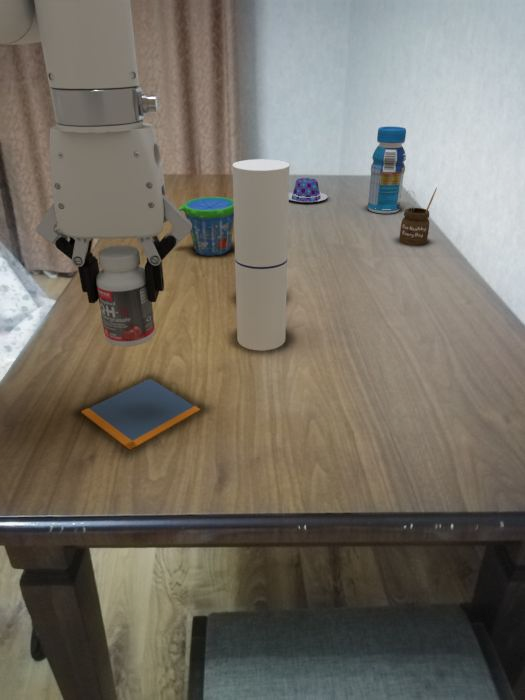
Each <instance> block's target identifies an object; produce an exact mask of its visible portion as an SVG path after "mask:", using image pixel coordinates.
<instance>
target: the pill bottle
mask: <svg viewBox="0 0 525 700" xmlns="http://www.w3.org/2000/svg"><path fill="white" fill-rule="evenodd" d="M98 265H99V266H100V268H101V270H99V273H98V274H97V277H96V286H97V292H98V302H99V309H100V315H101V322H102V327H103V333H104V338H105V340H106V341H107V342H108V343H109V344H111V345H112V346H116V347H123V348H125V347H127V348H128V347H136V346H140V345H143V344H145V343H148V342H149V341H151V340H152V339H153V338H154V336H155V333H156V328H155V318H154V317H155V316H154V310H153V302H150V301H148V294H147V285H146V277H145V267H142V266H140V265H141V257H140V251H139V249H138V248H137V247H135V246H132V245H127V244H120V245H118V244H117V245H111V246H108V247H104V248H102V249H100V250H99V252H98Z"/></svg>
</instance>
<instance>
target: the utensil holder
mask: <svg viewBox="0 0 525 700" xmlns="http://www.w3.org/2000/svg"><path fill="white" fill-rule="evenodd" d="M437 189H438V187H437V186H436V187H435V189H434V192H433V194H432V196H431V198H430V200H429V203H428V205H427V207H426V208H422V207H416V202H413V206H412V207H408V206H409V204H408V203H406V204H404V205H405V207H406V209H405V210H404V211H403V212H404V213H403V216H404V217H403V218H402V220H401V223H400V229H399V230H400V231H399V242H400V243H401V244H403V245H406V246H411V247H420V246H424V245H426V243H427V241H428V237H429V230H430V220H429V217H430V211H429V208H430V207H431V204H432V202H433V200H434V197H435V195H436V192H437ZM408 192H409V195H408V196H409V197H408V198H409V200H408V201H411V196H413V197H412V198H413V199H416V197H417V196H416V194H415V191H411V190H408V191H406V192H405V193H404V195H407V194H408ZM411 194H414V195H411Z"/></svg>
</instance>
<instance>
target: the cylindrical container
mask: <svg viewBox="0 0 525 700" xmlns="http://www.w3.org/2000/svg"><path fill="white" fill-rule="evenodd" d="M289 193H290V163H289V162H286V161H283V160H279V159H268V158H253V159H252V158H251V159H246V160H245V159H243V160H238V161H236V162H233V163H232V196H233V198H232V200H233V202H234V221H233V232H234V233H233V234H234V238H233V239H234V265H235V266H234V268H235V269H234V270H235V271H234V272H235V303H236V304H235V306H236V307H235V308H236V309H235V310H236V337H237V338H236V340H237V343H238V344H239V345H240V346H242V347H243V348H245V349H248V350H251V351H252V350H253V351H270V350H275V349H278V348H279V347H281V346H282V345H284V343H285V342H286V335H287V333H286V331H287V295H288V294H287V293H288V292H287V290H288V288H287V287H288V253H289V251H288V250H289V249H288V248H289V247H288V245H289V206H290V204H289V203H290V202H289V201H290V200H289Z"/></svg>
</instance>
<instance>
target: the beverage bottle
mask: <svg viewBox="0 0 525 700" xmlns="http://www.w3.org/2000/svg"><path fill="white" fill-rule="evenodd" d="M376 135H377V137H376V142H377V143H378V145H377V147H376V148H375V149H374V151H373V154H372V157H371V158H372V163H371V166H370V178H369V179H370V180H369V191H368V201H367V209H368V210H369V211H370V212H372V213H376V214H383V215H384V214H395V213H398V212H399V211H400V207H401V198H402V189H403V183H404V174H405V171H406V166H405V161H406V160H407V154H406V150H405V149H404V146H403V144H405V141H406V136H407V129H406V127H402V126H379V128H378V129H377V134H376ZM368 205H369V206H370V207H369V206H368ZM375 208H376V209H375ZM396 208H397V209H396ZM382 209H391V210H382Z"/></svg>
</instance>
